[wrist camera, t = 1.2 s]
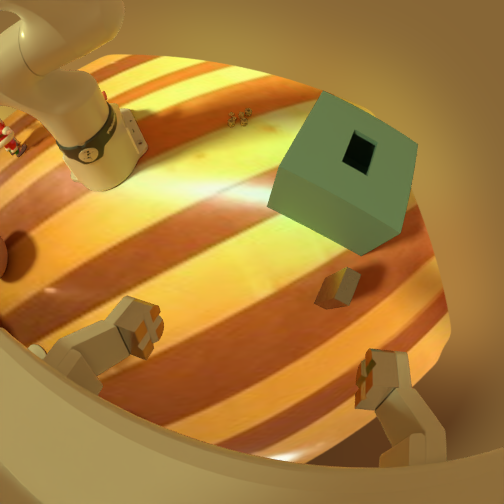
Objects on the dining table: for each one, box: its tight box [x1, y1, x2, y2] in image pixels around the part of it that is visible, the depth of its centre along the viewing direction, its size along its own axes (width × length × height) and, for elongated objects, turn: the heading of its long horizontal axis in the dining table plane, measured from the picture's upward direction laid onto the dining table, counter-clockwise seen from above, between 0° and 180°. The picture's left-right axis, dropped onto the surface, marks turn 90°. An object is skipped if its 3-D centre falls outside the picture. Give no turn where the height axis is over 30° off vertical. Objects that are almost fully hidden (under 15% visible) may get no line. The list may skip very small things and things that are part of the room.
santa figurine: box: [0, 119, 26, 157], centre depth 41 cm, size 25×6×19 cm, turn 70°
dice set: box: [228, 108, 252, 127], centre depth 55 cm, size 5×5×2 cm
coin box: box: [267, 91, 418, 256], centre depth 45 cm, size 20×20×14 cm
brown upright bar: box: [314, 267, 361, 310], centre depth 42 cm, size 5×2×10 cm, turn 153°
